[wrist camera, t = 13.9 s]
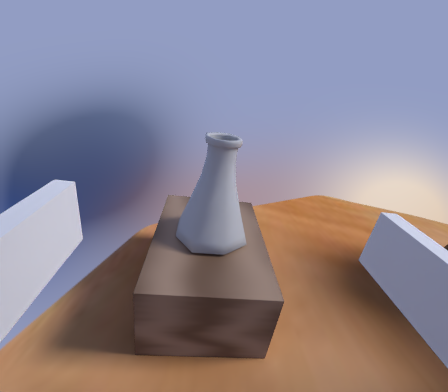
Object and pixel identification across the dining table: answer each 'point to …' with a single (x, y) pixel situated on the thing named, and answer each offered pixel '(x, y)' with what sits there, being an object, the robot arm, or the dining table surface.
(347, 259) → the dining table surface
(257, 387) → the dining table surface
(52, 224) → the robot arm
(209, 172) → the flask
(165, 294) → the walnut block
